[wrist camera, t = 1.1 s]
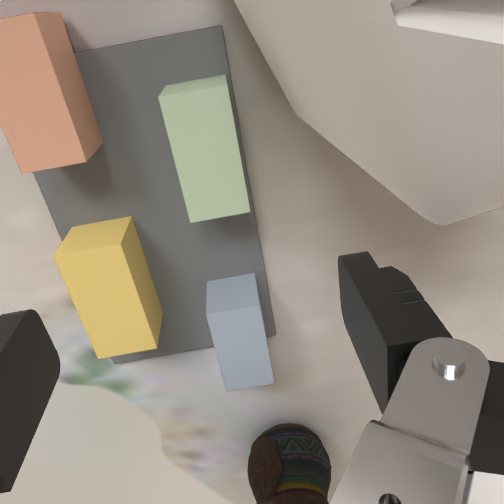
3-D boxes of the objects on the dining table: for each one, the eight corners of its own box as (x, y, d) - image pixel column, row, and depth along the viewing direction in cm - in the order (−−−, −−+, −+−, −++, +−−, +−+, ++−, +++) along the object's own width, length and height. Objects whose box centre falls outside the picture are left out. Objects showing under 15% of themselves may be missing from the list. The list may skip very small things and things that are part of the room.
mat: (-8, 68, 25) (-11, 69, 24) (221, 25, 25) (221, 25, 24) (115, 360, 35) (114, 364, 35) (275, 331, 35) (276, 335, 35)
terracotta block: (-5, 24, 24) (-43, 26, 20) (60, 12, 23) (33, 12, 20) (46, 152, 27) (21, 173, 23) (103, 142, 27) (86, 161, 23)
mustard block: (72, 227, 29) (53, 256, 26) (131, 216, 29) (120, 243, 26) (110, 322, 33) (98, 358, 30) (163, 312, 33) (157, 348, 30)
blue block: (206, 281, 32) (206, 314, 29) (254, 272, 32) (259, 304, 28) (225, 354, 35) (226, 391, 32) (268, 346, 35) (274, 383, 32)
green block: (165, 85, 26) (158, 97, 22) (225, 74, 26) (227, 84, 22) (193, 197, 29) (190, 223, 25) (246, 187, 29) (250, 211, 25)
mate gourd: (338, 426, 41) (371, 540, 32) (294, 473, 44) (313, 589, 35) (273, 402, 39) (289, 517, 30) (230, 453, 42) (235, 571, 33)
